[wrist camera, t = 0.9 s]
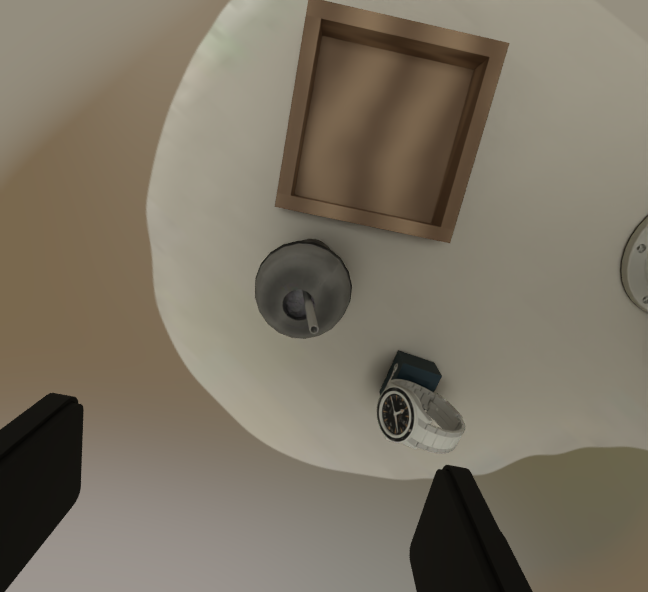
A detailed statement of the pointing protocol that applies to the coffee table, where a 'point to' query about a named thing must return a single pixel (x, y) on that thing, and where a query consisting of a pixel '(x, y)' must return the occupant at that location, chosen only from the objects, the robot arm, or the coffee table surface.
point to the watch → (417, 407)
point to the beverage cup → (302, 289)
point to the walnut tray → (386, 120)
